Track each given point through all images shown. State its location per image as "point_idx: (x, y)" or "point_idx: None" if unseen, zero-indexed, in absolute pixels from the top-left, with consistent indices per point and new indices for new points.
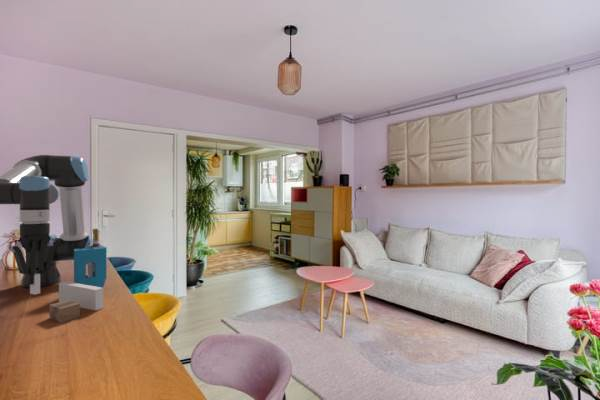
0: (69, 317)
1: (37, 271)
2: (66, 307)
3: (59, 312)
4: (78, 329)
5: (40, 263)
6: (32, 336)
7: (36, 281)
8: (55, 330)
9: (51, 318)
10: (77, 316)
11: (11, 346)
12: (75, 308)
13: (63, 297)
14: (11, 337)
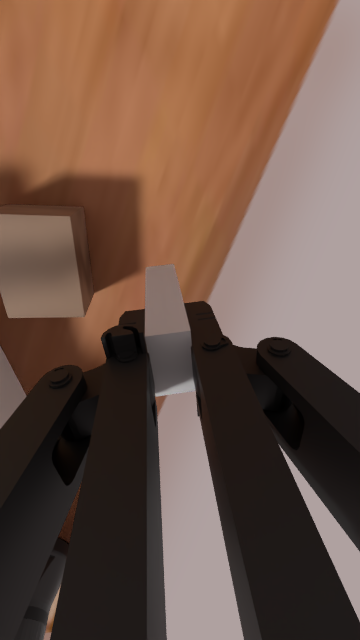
0: (46, 206)
1: (152, 382)
2: (42, 215)
3: (75, 222)
4: (53, 21)
5: (136, 431)
6: (195, 154)
7: (171, 301)
8: (124, 131)
9: (92, 280)
10: (15, 204)
11: (269, 120)
12: (7, 210)
13: (13, 405)
14: (229, 216)
